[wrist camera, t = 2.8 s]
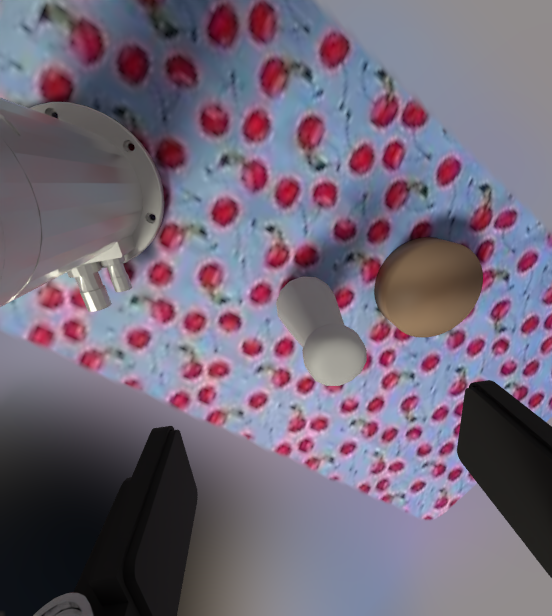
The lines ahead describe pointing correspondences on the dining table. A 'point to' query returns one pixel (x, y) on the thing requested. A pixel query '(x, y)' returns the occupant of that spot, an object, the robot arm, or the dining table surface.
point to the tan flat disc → (428, 286)
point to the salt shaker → (321, 331)
